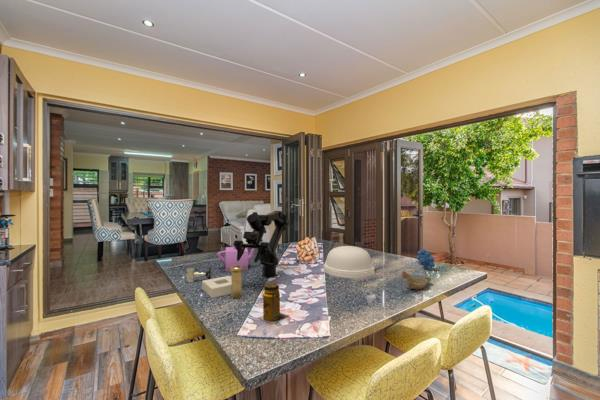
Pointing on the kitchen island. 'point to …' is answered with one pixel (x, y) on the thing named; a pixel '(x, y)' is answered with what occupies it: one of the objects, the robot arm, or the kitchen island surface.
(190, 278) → the valve
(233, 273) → the brass bushing
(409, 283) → the oil lamp
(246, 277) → the kitchen island surface
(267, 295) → the condiment
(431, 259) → the grapes
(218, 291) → the jig plate
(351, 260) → the dome cover
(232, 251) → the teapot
